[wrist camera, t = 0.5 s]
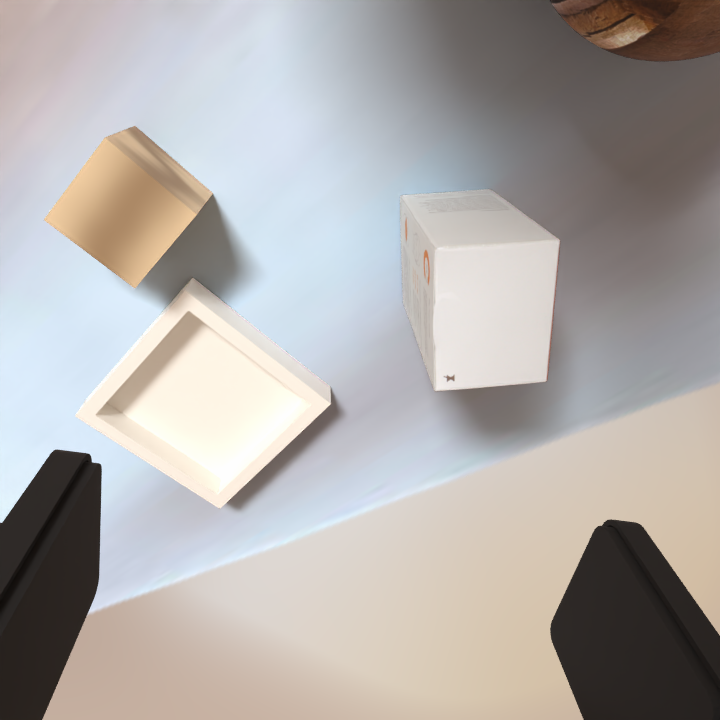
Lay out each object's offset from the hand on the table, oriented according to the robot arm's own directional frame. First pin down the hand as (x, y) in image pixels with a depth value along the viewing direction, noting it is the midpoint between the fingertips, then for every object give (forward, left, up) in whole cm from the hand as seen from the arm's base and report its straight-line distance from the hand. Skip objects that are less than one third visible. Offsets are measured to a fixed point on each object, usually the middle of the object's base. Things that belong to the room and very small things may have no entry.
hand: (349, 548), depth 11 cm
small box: (+8, +3, -32) cm, 34 cm away
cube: (-9, -8, -32) cm, 34 cm away
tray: (+3, -17, -32) cm, 37 cm away
